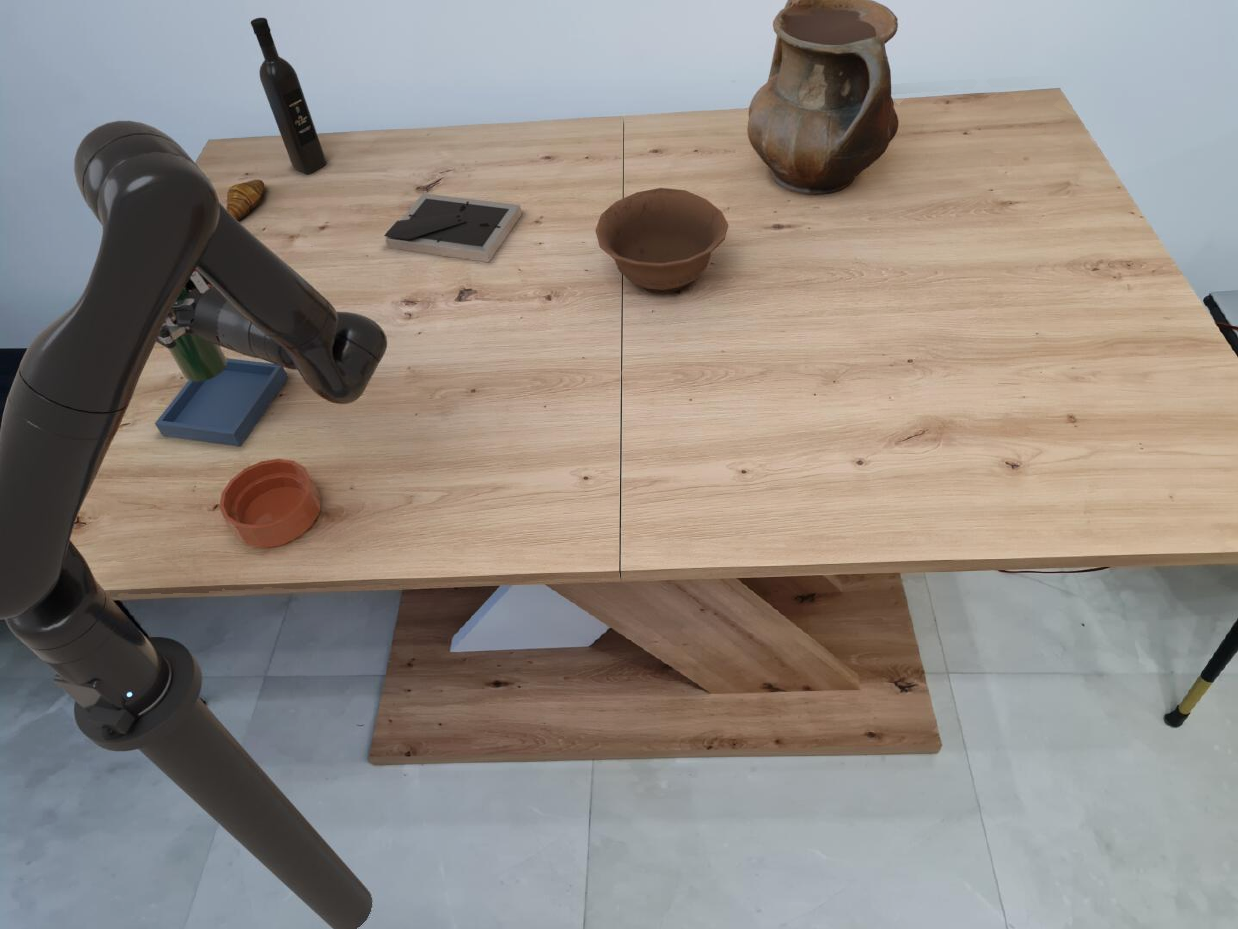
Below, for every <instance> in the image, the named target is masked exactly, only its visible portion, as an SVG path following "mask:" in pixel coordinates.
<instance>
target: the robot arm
mask: <svg viewBox="0 0 1238 929" xmlns="http://www.w3.org/2000/svg"><path fill="white" fill-rule="evenodd" d="M75 152H76V153H75V156H74V160H73V172H74V178H75V181H76V184H77V187H78V190H79V192H80V194H81V196H82V199H83V200H84V202H85V203H86V205H87V206H88V208H89V209H90V210H91V213H93V215H94V216H95V217H96V219H97V220H98V222H99V223H100V225H101V226H102V235H101V240H100V244H99V249H98V252H97V256H96V259H95V262H94V264H93V268H92V270H91V274H90V275H89V279H88V281H87V284H86V286H85V288H84V290H83V292H82V294H81V295H80V297H79V298H78V300H77V301H76V302H75V304H74V305H73V306H71V307H70V309H68V310H67V311H65V312H64V313H63V314H62V315H60V316H59V317H58V318H57V319H55V320H54V321H52V322H51V323H49V324H48V325H47V326H46V327H45V328H43V329H42V330H41V331H40V332H39V333H38V334H37V335H36V336H35V337H34V338H33V339H32V341H31V342H30V344H29V345H28V347H27V348H26V351H25V353H24V354H23V356H22V359H21V361H20V363H19V366H18V369H17V371H16V374H15V377H14V379H13V381H12V385H11V387H10V390H9V392H8V394H7V398H6V402H5V406H4V410H3V413H2V417H1V418H2V419H1V423H0V424H1V425H0V620H5V622H6V625H7V627H8V629H9V630H10V631H11V633H13V635H14V636H15V637H16V638H17V639H18V640H20V642H22V644H24V646H26V647H27V648H28V649H30V650H31V652H33V653H34V654H35V655H36V656H37V657H38V658H39V659H40V660H41V661H43V663H44V664H45V665H47V666H48V667H49V668H50V669H51V670H52V671H53V672H54V673H55V674H54V676H53V677H52V681H53V682H54V683H55V684H56V685H57V686H59V688H61V689H62V690H63V691H64V693H66V694H67V695H68V696H69V697H70V698H72V699H73V700H74V702H75V701H76V702H77V703H78V704H79V705H81V706H82V707H83V708H84V709H85V710H86V711H87V712H88V713H89V714H88V716H87V717H86V720H87V721H88V722H90V723H91V724H92V725H93V726H94V727H95V728H99V729H101V733H102V737H103V738H104V739H105V740H107V741H111V740H114V739H116V738H117V737H119V736H120V735H122V734H126V733H127V731H128V729H129V728H130V726H131V725H136V724H137V722H138V721H139V719H140V718H141V717H142V716H144V715H146V714H148V713H149V712H151V711H152V710H153V709H154V708H156V707H157V706H158V705H159V704H160V703H161V702H162V701H163V699H164V698H165V697H166V695H167V693H168V692H169V690H170V687H171V685H172V681H173V670H172V667H171V665H170V663H169V662H168V661H167V660H166V658H164V657H163V656H162V655H161V654H160V652H158V651H157V650H156V648H155V647H154V646H153V645H152V644H151V643H150V642H149V641H148V639H147V638H148V637H146V636H145V635H144V634H143V632H142V631H141V630H140V629H139V628H138V626H136V625H135V623H134V622H133V621H132V620H131V619H130V618H129V617H128V615H127V614H126V613H125V612H124V611H123V610H122V608H120V607H119V605H118V604H117V603H116V602H115V601H114V599H113V598H112V597H111V596H110V595H109V593H108V592H107V591H106V590H105V589H104V588H103V587H102V586H101V585H100V583H99V582H98V581H97V580H96V578H95V576H94V574H93V572H92V570H91V567H90V566H89V564H88V562H87V560H86V559H85V557H84V556H83V555H82V554H81V552H80V551H79V550H78V548H77V547H76V546H75V544H74V543H73V542H72V540H71V538H72V534H73V531H74V526H75V524H76V521H77V518H78V516H79V514H80V510H81V508H82V506H83V504H84V502H85V500H86V498H87V496H88V494H89V492H90V490H91V488H92V486H93V484H94V481H95V480H96V477H97V475H98V473H99V471H100V469H101V467H102V464H103V462H104V460H105V457H106V454H107V452H108V450H109V448H110V446H111V444H112V442H113V440H114V438H115V437H116V435H117V432H118V431H119V428H120V426H121V424H122V422H123V419H124V417H125V415H126V412H127V411H128V407H129V405H130V404H131V401H132V398H133V395H134V393H135V390H136V387H137V385H138V382H139V380H140V377H141V375H142V373H143V370H144V369H145V366H146V364H147V362H148V360H149V358H150V356H151V353H152V351H153V350H154V347H155V346H156V345H155V344H156V343H158V344H159V345H161V346H163V347H165V348H166V349H168V350H169V349H171V348H174V347H175V346H176V342H175V339H176V338H178V337H179V336H181V335H182V334H187V335H191V334H195V335H198V336H200V337H201V338H203V339H205V340H206V341H208V342H211V343H213V344H216V345H219V346H220V347H221V348H225V349H227V350H230V351H233V352H235V353H238V354H241V355H244V356H247V357H250V358H254V359H260V360H263V361H266V362H267V363H272V364H276V365H279V366H282V367H284V369H288V370H294V371H297V372H298V373H299V375H300V376H301V378H302V380H304V382H305V384H306V385H307V386H308V387H309V389H311V390H312V391H313V392H314V393H315V394H316V395H317V396H319V397H320V398H322V399H323V400H325V401H327V402H329V403H332V404H336V405H347V404H351V403H354V402H356V401H357V400H359V399H360V398H361V396H362V395H363V394H364V392H365V391H366V388H367V387H368V385H369V383H370V381H371V380H372V377H373V376H374V373H375V372H376V370H377V368H378V366H379V364H380V363H381V361H382V359H383V358H384V355H385V353H386V351H387V348H388V338H387V335H386V333H385V331H384V330H383V328H382V327H381V326H380V324H378V323H377V322H376V321H374V320H373V319H371V318H370V317H367V316H365V315H362V314H359V313H355V312H349V311H337V310H336V308H335V306H333V304H332V302H330V301H329V300H328V299H327V298H326V297H325V296H323V295H322V294H321V293H320V292H319V291H318V290H317V289H316V288H315V287H314V286H312V285H311V283H309V282H308V281H307V280H306V279H305V278H304V277H303V276H301V275H300V274H299V273H298V272H297V271H296V270H295V269H294V268H292V267H291V266H290V265H288V264H287V263H286V262H285V261H284V260H283V259H282V258H280V257H279V256H278V254H276V253H274V252H273V251H272V250H271V249H270V248H269V247H267V246H266V244H264V243H263V242H262V241H261V240H259V239H258V238H257V237H256V236H255V235H254V234H252V233H251V232H250V231H249V230H248V229H247V228H246V227H245V226H244V225H243V224H241V222H240V221H237V220H236V219H235V218H234V217H233V216H232V215H231V214H230V213H229V212H228V211H227V208H225V207H224V205H223V204H222V203H221V202H220V201H219V200H220V199H219V197H218V194H217V192H216V189H215V187H214V186H213V183H212V182H211V181H210V179H209V178H208V177H207V175H206V174H205V173H204V172H203V171H202V169H201V168H200V167H199V166H198V165H197V163H195V161H194V159H192V158H191V156H190V155H189V154H188V152H186V150H184V148H183V147H182V146H181V145H180V143H178V142H177V141H176V140H175V139H173V138H172V137H171V136H169V135H168V134H167V133H166V132H164V131H162V130H160V129H158V128H156V127H154V126H152V125H149V124H146V123H143V122H139V121H134V120H115V121H110V122H106V123H104V124H102V125H99V126H97V127H95V128H94V129H93V130H90V132H88V133H87V134H86V135H85V136H84V137H83V138H82V140H81V141H80V143H79V145H78V147H77V149H76V151H75ZM195 269H196V270H197V271H198V272H199V273H198V272H196V271H195ZM186 284H187V285H188V287H189V289H190V290H192V291H191V292H189V293H188V294H187V295H186V297H184V298H182V299H180V300H179V301H176V300H177V299H178V297H179V295H180V294H181V292H182V290H183V289H184V287H185V286H186ZM209 284H210V285H212V287H208V286H207V285H209ZM194 289H196V290H194ZM173 310H174V311H175V314H174V312H173ZM110 731H113V732H111V733H110Z"/></svg>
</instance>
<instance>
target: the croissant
mask: <svg viewBox="0 0 1238 929" xmlns="http://www.w3.org/2000/svg"><path fill="white" fill-rule="evenodd" d="M264 194H265V183H264V181H263V180H262V179H253V180H249V181H246V182H240V183H238V184H237V183H236V184H233V185H232V186H231V187H229V188H228V191H227V193H226V210H227V211H228V212H229V213H230V214H231V215H232V216H233V217H234V218H235V219H236V220H237V221H238V222H240V221H241V220H243V219H244V218H245V217H246V216H248V215H249V214H250V212H252V211H253V210H254V209H255V208H257V207H258V206H259V204H260V202H261V200H262V197H263V196H264Z"/></svg>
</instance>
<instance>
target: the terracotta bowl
mask: <svg viewBox="0 0 1238 929" xmlns="http://www.w3.org/2000/svg"><path fill="white" fill-rule="evenodd" d="M321 502H322V498H321V495H320V493H319V491H318V490H317V488H316V486H315V483H314V482H313V480H312V478H311V475H310V474H309V472H308V470H307V468H306V467H305V466H303V465H302V464H300V463H299V462H297V461H295V460H291V459H283V458H273V459H268V460H262V461H259V462H257V463H254V464H252V465H249V466H248V467H246V468H244V469H242V470H241V471H240V472H238V473H237V474H236V475H234V477H232V478H231V479H230V480H229V481H228V483H227V485H225V487H224V488H223V490H222V491H221V495H220V501H219V506H218V507H219V510H220V512H221V515H222V518H223V519H224V521H225V522H226V524H227V525H228V527H229V529H230V531H231V532H232V534H233V536H234V537H235V538H236V539H238V541H240V542H242V543H243V544H244V545H246V546H248V547H253V548H254V547H255V548H258V549H259V548H260V549H266V548H268V549H269V548H273V547H278V546H283V545H285V544H287V543H289V542H291V541H293V540H295V539H297V538H299V537H300V536H301V535H303V534H304V533H305V532H306V531H308V530H309V528H311V527H312V526H313V525H314V522H315V521H316V519H317V517H318V516H319V514H320V512H321Z"/></svg>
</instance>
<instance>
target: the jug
mask: <svg viewBox="0 0 1238 929" xmlns="http://www.w3.org/2000/svg"><path fill="white" fill-rule="evenodd" d="M776 14H777V15H776V16H775V17H774V19H773V22H772V28H773V32H774V33H775V35H776V38H775V44H774V50H773V54H772V60H771V64H770V70H769V74H768V78H767V81H766V82H765V84H763V85H762V86H761V87H760V88H759V89H758V90H757V91H756V92H755V94H754V95H753V96H752V98H751V101H750V104H749V106H748V121H747V126H746V127H747V128H746V130H747V137H748V141H749V143H750V145H751V147H752V148H753V149H754V151H755V152H756V153H757V156H759V158H760V159H761V160H762V161H763V163H764V164H765V165H766V166H767V167H768V168H769V169H770V171H772V178H773V181H774V182H775V183H776V184H777V185H778V186H779V187H781V188H783V189H785V190H787V191H789V192H793V193H796V194H799V195H805V196H822V195H830V194H834V193H838V192H841V191H843V190H845V189H846V188H848V187H850V185H851V184H853V182H854V181H855V178H856V177H857V176H859V175H860V174H861V173H862V172H864V171H865V170H867V168H869V167H871V165H873V164H874V163H875V162H877V161H878V160H879V159H880V158H881V157H882V156H883V155H884V154H885V153H886V151H887V149H888V147H889V145H890V143H891V142H892V140H894V138H895V136H896V135H897V133H898V129H899V123H900V122H899V117H898V114H897V112H896V109H895V108H894V106H895V104H894V100H893V96H892V72H891V67H890V62H889V58H888V55H887V50H886V44H887V43H888V42H889V41H890V40H891V39H893V38H894V37H895V35H896V34H897V32H898V28H899V23H898V20H899V19H898V18H897V15H896V14H895V13H894V12H893V11H892V10H891V9H890V8H888V7H887V5H886V6H885V5H884V4H881V3H880V2H878V1H875V0H787V1H786V3H785V5H784V8H782V9H780V10H779V12H778V13H776Z"/></svg>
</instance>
